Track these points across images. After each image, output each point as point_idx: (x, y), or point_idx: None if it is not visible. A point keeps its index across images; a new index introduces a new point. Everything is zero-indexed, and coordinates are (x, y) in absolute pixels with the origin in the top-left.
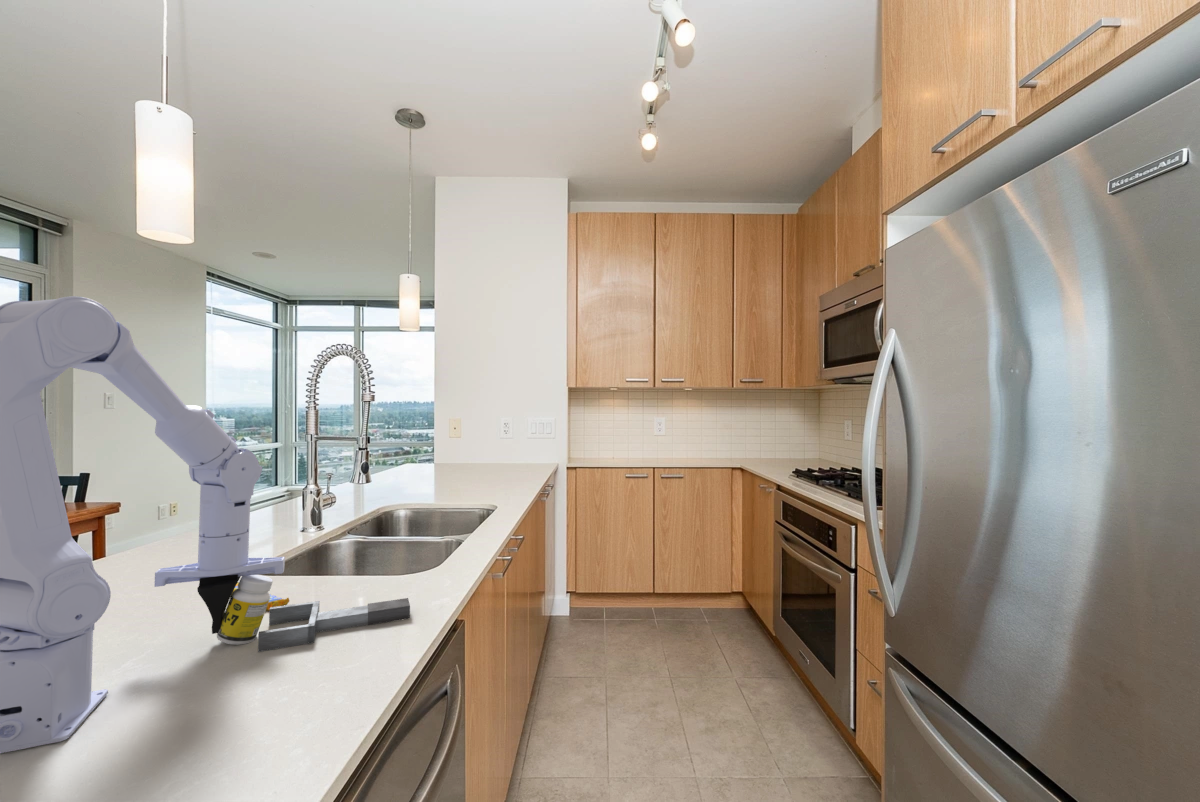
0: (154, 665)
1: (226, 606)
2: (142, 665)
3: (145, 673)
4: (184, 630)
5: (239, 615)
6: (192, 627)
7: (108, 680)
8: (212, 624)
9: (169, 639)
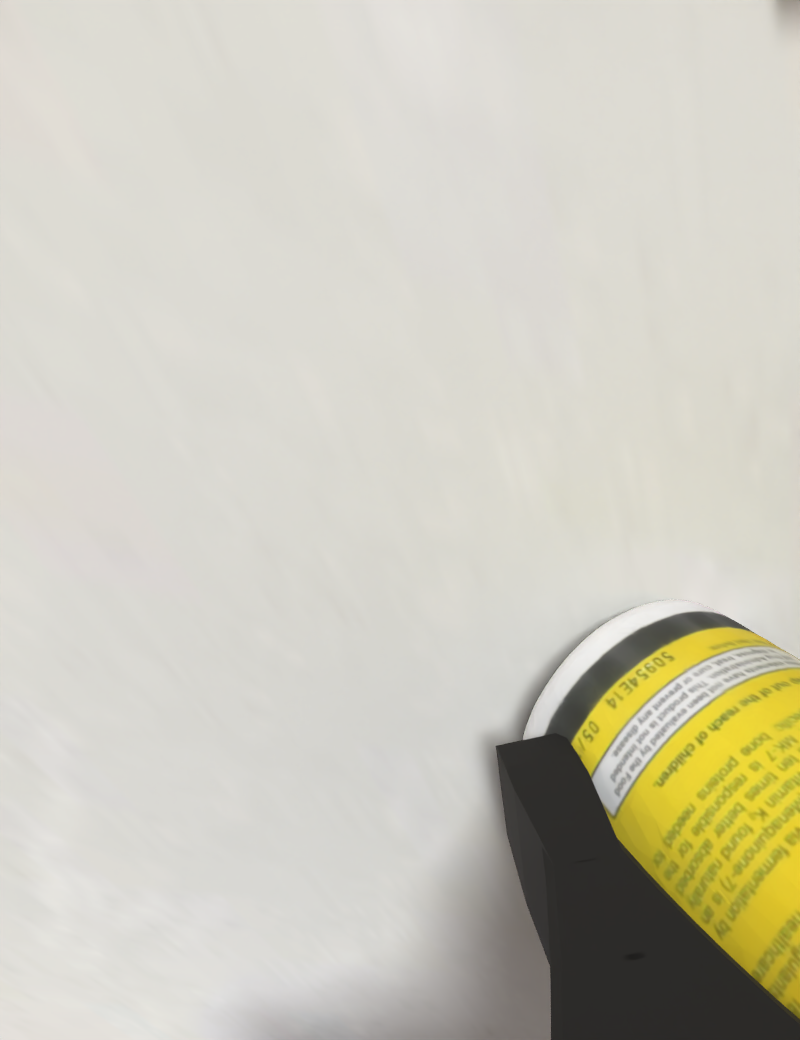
0: (249, 912)
1: (661, 892)
2: (174, 906)
3: (259, 971)
4: (53, 373)
5: None
6: (89, 298)
7: (111, 1009)
8: (540, 933)
9: (58, 571)
